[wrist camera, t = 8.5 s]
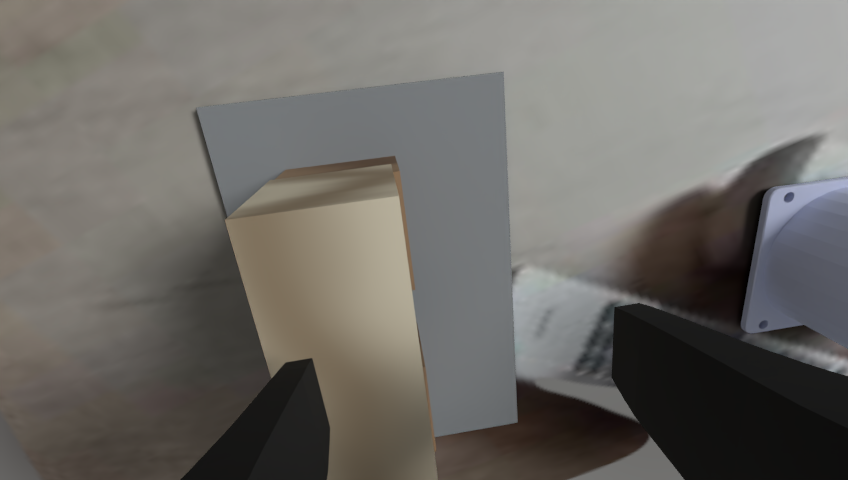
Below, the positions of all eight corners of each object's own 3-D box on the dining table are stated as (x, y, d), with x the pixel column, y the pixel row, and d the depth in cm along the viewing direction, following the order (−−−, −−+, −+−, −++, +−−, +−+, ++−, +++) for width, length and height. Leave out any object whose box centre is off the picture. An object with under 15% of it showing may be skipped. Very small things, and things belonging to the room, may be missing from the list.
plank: (391, 164, 14) (398, 195, 10) (432, 455, 19) (449, 563, 14) (269, 180, 14) (224, 220, 10) (341, 472, 18) (332, 587, 14)
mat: (501, 72, 17) (503, 71, 17) (515, 418, 23) (517, 422, 23) (199, 107, 16) (196, 107, 16) (298, 456, 22) (297, 461, 22)
